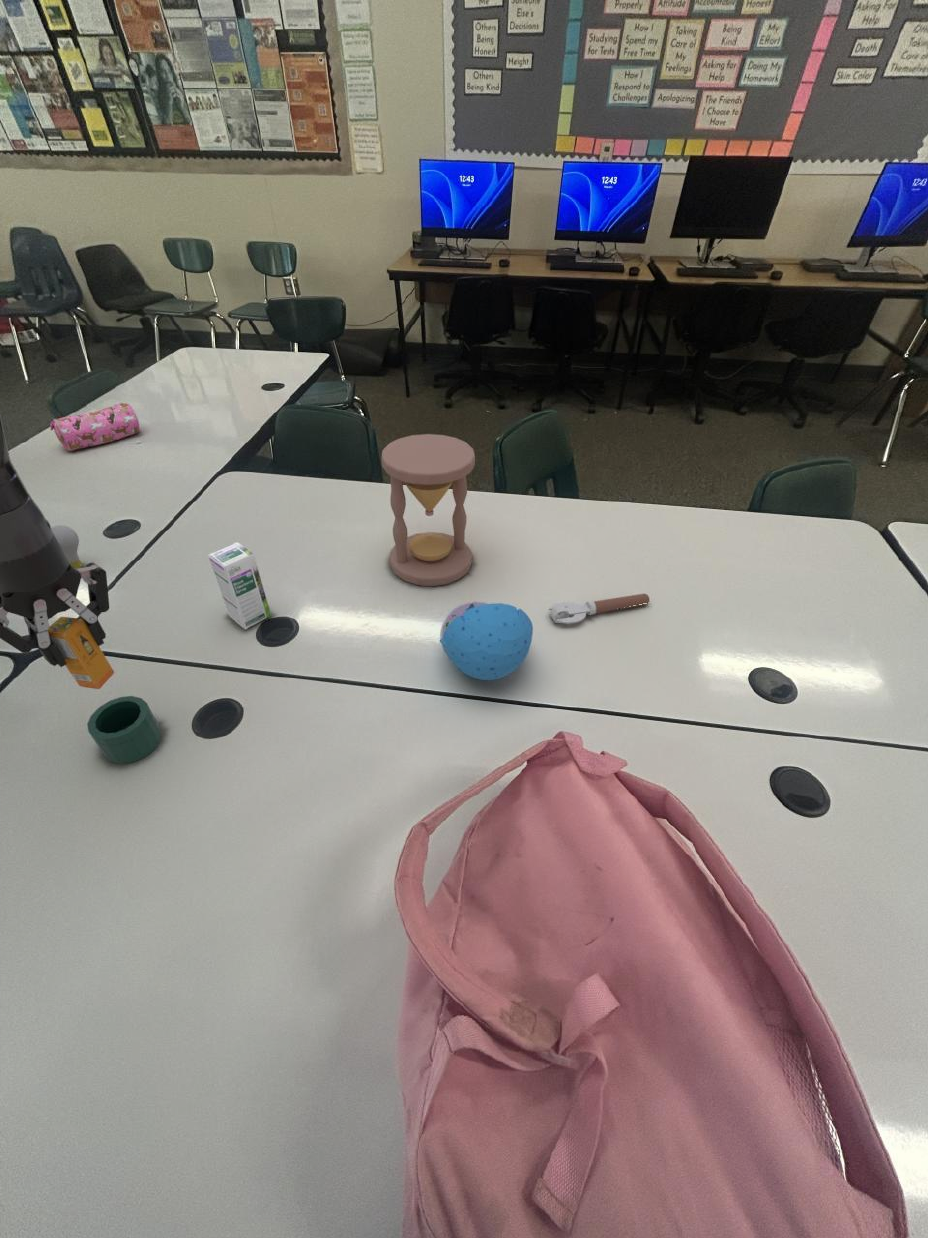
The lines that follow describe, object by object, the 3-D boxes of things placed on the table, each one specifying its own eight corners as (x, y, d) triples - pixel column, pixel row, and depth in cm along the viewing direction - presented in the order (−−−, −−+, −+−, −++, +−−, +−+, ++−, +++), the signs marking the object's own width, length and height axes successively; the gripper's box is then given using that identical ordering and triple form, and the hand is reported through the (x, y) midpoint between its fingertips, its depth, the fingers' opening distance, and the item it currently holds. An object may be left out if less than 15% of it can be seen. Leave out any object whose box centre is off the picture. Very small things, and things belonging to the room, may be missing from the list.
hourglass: (395, 591, 114) (385, 477, 97) (386, 544, 126) (376, 436, 110) (479, 581, 116) (484, 469, 100) (462, 536, 129) (464, 430, 113)
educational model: (512, 621, 107) (518, 556, 97) (539, 695, 93) (549, 628, 83) (431, 630, 105) (429, 564, 95) (445, 707, 91) (445, 639, 81)
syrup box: (245, 631, 104) (224, 566, 94) (228, 616, 107) (206, 553, 97) (271, 616, 107) (254, 553, 98) (254, 602, 110) (236, 540, 101)
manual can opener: (633, 590, 115) (636, 578, 113) (650, 607, 111) (654, 595, 109) (544, 612, 109) (545, 600, 107) (559, 632, 105) (561, 620, 103)
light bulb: (57, 570, 117) (34, 529, 110) (83, 558, 120) (62, 517, 114) (71, 579, 115) (48, 537, 108) (97, 566, 118) (77, 525, 112)
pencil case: (133, 426, 174) (122, 397, 168) (146, 435, 169) (135, 405, 163) (57, 447, 162) (43, 416, 156) (69, 457, 157) (55, 426, 151)
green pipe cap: (122, 773, 81) (105, 748, 77) (94, 746, 84) (76, 720, 80) (171, 738, 85) (158, 712, 81) (143, 713, 89) (129, 688, 85)
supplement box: (93, 669, 77) (61, 613, 71) (115, 673, 77) (85, 617, 70) (76, 687, 75) (41, 630, 68) (99, 691, 74) (66, 635, 68)
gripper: (62, 503, 67) (117, 613, 79) (-79, 557, 59) (6, 671, 70) (95, 524, 64) (147, 635, 75) (-50, 584, 55) (34, 699, 66)
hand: (79, 652), depth 72 cm, fingers closed on supplement box, 4 cm apart
